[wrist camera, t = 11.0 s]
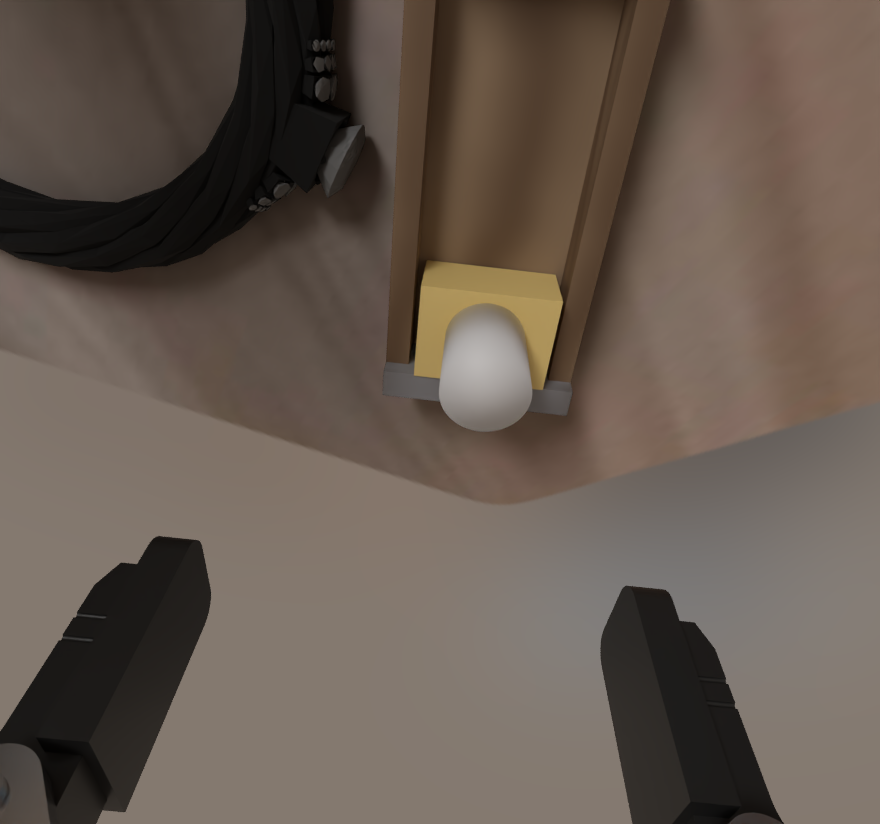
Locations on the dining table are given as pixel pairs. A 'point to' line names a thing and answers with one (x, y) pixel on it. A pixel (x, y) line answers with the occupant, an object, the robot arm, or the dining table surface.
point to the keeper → (486, 339)
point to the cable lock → (213, 159)
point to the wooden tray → (513, 154)
